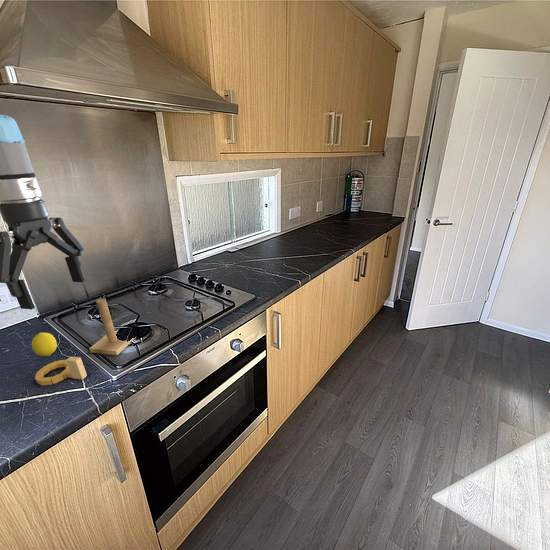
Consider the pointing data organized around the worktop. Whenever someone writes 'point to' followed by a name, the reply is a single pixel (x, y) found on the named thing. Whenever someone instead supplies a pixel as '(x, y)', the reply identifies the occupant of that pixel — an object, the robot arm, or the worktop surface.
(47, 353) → the lemon
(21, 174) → the robot arm
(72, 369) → the hang ring
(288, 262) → the worktop surface
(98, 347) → the peg stand
